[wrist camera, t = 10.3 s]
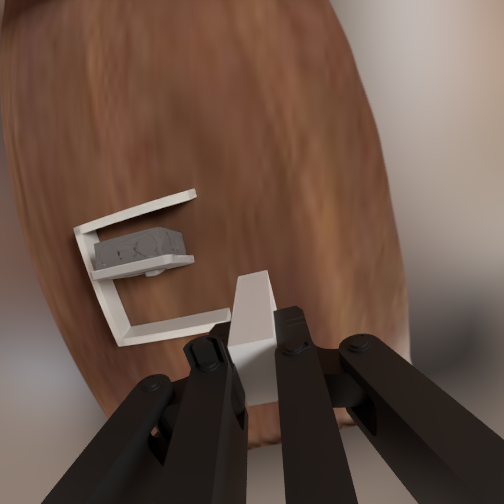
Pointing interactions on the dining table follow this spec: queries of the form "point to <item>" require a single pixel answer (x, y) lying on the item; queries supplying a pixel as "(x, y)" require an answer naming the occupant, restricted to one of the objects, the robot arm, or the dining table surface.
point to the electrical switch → (140, 254)
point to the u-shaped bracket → (109, 294)
